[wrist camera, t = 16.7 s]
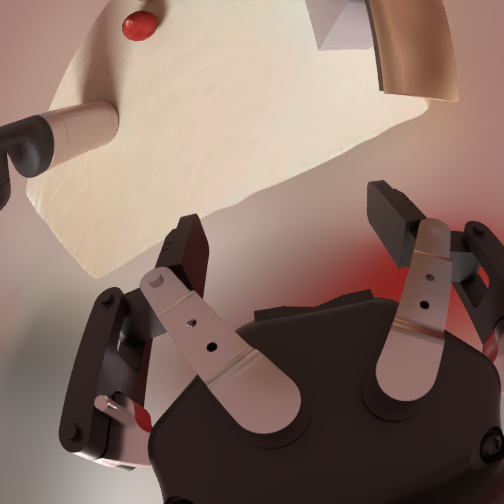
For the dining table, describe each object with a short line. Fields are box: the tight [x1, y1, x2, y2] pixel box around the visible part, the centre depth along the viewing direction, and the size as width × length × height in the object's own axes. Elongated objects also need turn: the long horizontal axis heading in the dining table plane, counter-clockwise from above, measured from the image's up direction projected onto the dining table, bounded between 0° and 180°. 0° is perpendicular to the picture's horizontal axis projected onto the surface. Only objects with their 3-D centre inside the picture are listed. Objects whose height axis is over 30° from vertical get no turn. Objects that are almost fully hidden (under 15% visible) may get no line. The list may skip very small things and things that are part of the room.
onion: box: [122, 11, 157, 41], centre depth 28 cm, size 6×6×8 cm
